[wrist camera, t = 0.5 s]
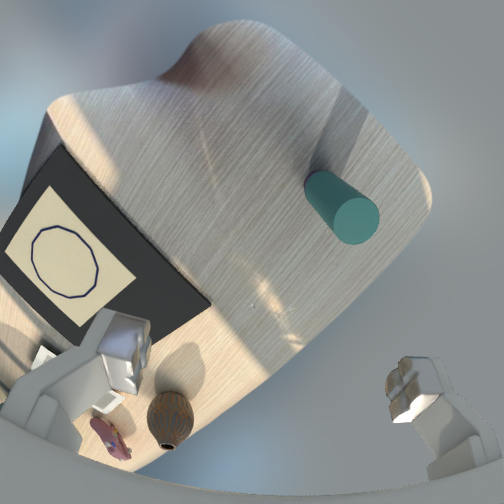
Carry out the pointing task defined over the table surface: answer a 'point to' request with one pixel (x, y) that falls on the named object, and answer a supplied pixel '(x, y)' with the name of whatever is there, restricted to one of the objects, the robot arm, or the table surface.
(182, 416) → the vase
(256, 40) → the table surface
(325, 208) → the cylinder
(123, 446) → the video game controller
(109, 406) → the white framed picture
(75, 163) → the desk mat
